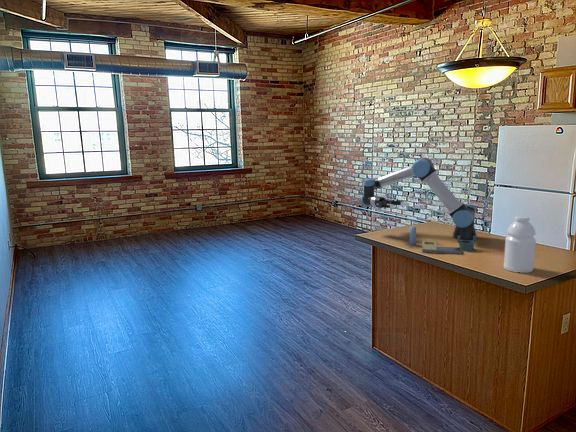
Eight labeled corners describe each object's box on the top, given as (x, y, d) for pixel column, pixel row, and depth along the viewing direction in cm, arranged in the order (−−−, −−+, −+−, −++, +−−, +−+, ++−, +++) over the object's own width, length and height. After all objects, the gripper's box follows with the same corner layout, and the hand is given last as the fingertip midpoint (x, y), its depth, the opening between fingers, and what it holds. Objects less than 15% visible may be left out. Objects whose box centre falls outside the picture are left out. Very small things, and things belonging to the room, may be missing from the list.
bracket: (476, 250, 259) (477, 235, 257) (467, 252, 254) (467, 237, 253) (464, 247, 266) (465, 233, 265) (454, 249, 262) (455, 235, 260)
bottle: (511, 273, 214) (515, 220, 209) (498, 265, 228) (501, 214, 223) (539, 272, 214) (543, 219, 209) (524, 264, 228) (528, 214, 223)
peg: (415, 244, 276) (416, 226, 274) (415, 245, 272) (416, 227, 270) (409, 244, 277) (409, 226, 275) (409, 245, 273) (409, 227, 271)
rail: (459, 250, 258) (460, 242, 257) (461, 254, 250) (461, 246, 249) (422, 248, 264) (422, 241, 263) (422, 252, 257) (422, 244, 256)
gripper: (390, 205, 303) (414, 209, 285) (365, 209, 290) (387, 213, 272) (391, 195, 302) (414, 198, 284) (365, 198, 288) (388, 202, 271)
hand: (401, 205), depth 278 cm, fingers open, 13 cm apart
